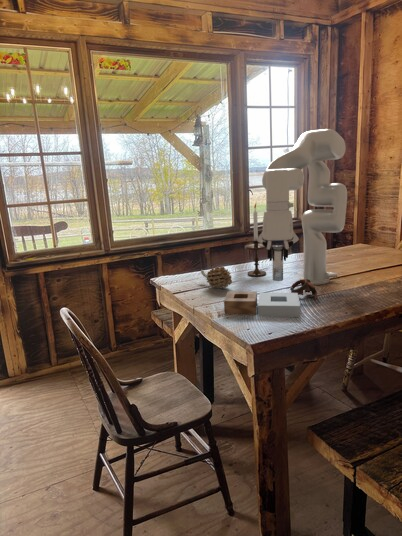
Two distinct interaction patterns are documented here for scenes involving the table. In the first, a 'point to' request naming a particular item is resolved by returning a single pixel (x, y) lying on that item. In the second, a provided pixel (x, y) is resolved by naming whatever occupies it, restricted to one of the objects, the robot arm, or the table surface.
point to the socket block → (279, 305)
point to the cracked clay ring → (304, 287)
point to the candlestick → (255, 248)
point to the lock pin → (277, 262)
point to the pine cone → (218, 277)
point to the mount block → (240, 302)
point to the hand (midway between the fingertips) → (277, 259)
